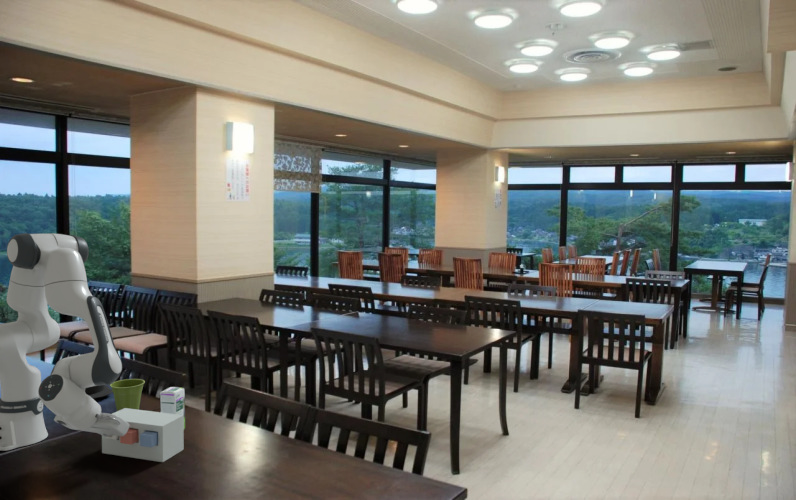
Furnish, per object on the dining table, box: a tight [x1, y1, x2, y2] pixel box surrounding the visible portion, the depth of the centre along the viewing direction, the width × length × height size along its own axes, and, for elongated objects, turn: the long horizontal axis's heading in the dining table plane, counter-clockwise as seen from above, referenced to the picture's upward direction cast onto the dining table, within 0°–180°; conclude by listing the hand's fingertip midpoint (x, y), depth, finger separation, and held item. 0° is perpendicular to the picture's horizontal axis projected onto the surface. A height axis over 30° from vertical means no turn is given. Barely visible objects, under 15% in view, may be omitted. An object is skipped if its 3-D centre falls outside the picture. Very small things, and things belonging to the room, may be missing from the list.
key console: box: [101, 408, 185, 463], centre depth 182 cm, size 22×10×11 cm, turn 75°
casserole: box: [85, 385, 113, 400], centre depth 235 cm, size 25×19×8 cm
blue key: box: [140, 431, 158, 447], centre depth 174 cm, size 4×3×4 cm
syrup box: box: [159, 386, 186, 430], centre depth 199 cm, size 6×6×14 cm
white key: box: [105, 435, 119, 440], centre depth 179 cm, size 4×3×4 cm
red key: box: [120, 428, 139, 445], centre depth 176 cm, size 4×3×4 cm
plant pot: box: [109, 378, 146, 412], centre depth 216 cm, size 12×12×11 cm
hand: (109, 434), depth 177 cm, fingers closed, pressing on white key
